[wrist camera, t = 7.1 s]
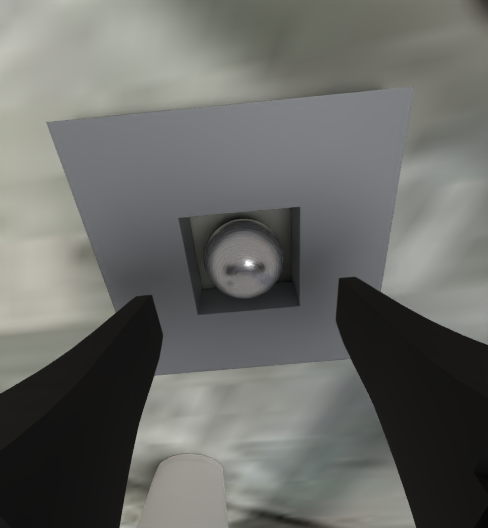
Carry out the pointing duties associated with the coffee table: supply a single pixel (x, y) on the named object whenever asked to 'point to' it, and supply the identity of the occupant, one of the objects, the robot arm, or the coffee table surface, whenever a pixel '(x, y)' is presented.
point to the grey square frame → (240, 200)
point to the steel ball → (244, 258)
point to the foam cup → (186, 494)
